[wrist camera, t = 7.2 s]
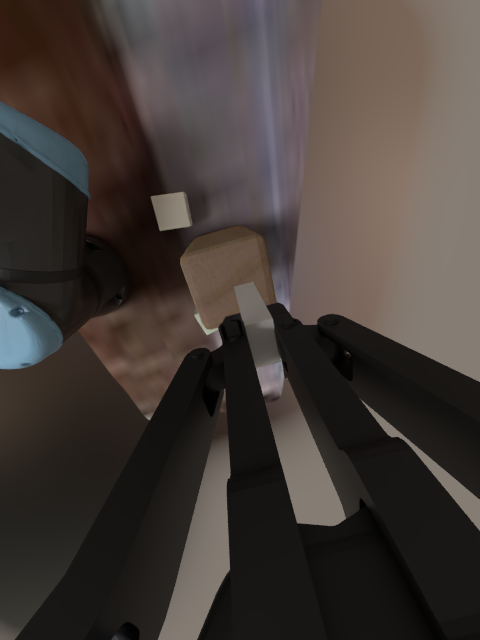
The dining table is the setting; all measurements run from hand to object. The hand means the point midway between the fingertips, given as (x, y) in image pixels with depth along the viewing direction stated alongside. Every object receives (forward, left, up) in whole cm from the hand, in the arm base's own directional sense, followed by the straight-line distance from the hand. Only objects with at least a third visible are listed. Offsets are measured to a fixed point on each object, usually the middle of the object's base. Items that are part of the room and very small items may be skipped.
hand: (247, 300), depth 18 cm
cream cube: (-7, +8, -30) cm, 31 cm away
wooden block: (-1, -2, -30) cm, 30 cm away
